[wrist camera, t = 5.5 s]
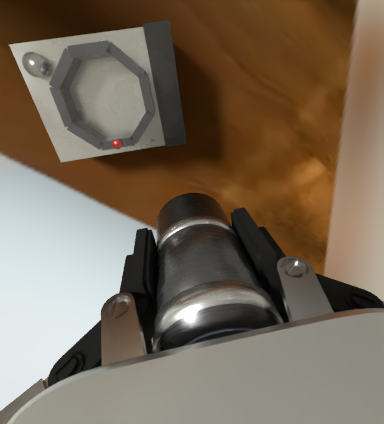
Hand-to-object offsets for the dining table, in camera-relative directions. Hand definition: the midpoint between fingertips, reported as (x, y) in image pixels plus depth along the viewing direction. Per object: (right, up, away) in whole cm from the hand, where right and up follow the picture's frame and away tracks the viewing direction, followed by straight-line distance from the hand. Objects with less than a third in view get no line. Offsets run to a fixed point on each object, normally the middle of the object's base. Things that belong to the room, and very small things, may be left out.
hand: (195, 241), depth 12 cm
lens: (0, +1, +2) cm, 2 cm away
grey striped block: (-8, +14, +11) cm, 19 cm away
